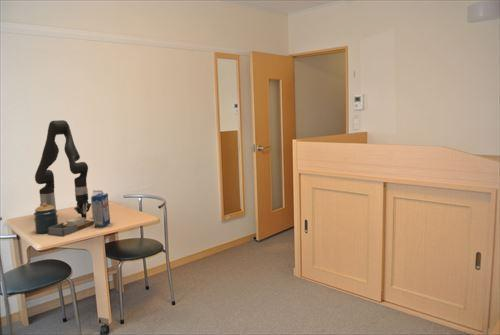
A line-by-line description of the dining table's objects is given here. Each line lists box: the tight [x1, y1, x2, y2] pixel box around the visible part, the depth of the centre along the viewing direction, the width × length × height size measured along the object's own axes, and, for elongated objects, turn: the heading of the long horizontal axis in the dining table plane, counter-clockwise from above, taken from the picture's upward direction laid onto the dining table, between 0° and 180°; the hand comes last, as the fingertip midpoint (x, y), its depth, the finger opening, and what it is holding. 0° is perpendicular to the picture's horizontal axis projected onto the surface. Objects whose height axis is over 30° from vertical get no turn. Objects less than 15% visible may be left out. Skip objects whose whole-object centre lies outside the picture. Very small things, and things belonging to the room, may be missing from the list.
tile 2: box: [73, 216, 86, 224], centre depth 254 cm, size 5×5×3 cm
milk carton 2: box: [91, 192, 111, 229], centre depth 254 cm, size 10×6×20 cm, turn 178°
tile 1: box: [66, 218, 79, 226], centre depth 249 cm, size 5×5×3 cm
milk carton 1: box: [90, 189, 104, 219], centre depth 275 cm, size 7×7×19 cm
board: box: [63, 219, 94, 232], centre depth 254 cm, size 12×14×2 cm
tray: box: [47, 222, 78, 237], centre depth 242 cm, size 12×11×4 cm
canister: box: [33, 203, 59, 234], centre depth 247 cm, size 13×13×18 cm
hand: (84, 219), depth 258 cm, fingers closed
